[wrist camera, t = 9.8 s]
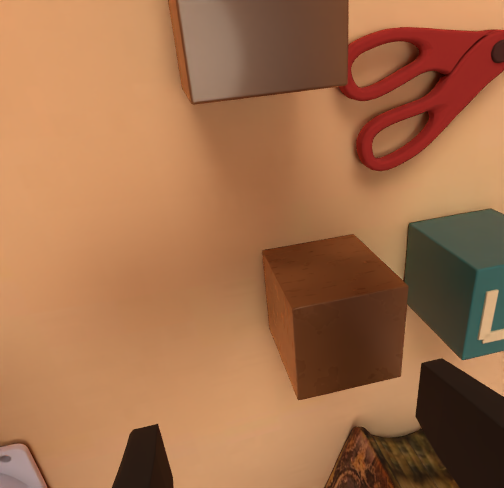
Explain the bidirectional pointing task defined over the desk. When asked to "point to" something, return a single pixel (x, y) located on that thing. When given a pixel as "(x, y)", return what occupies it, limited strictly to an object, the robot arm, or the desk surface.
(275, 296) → the block
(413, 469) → the book
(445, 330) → the block
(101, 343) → the desk surface
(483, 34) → the scissors
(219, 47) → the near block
